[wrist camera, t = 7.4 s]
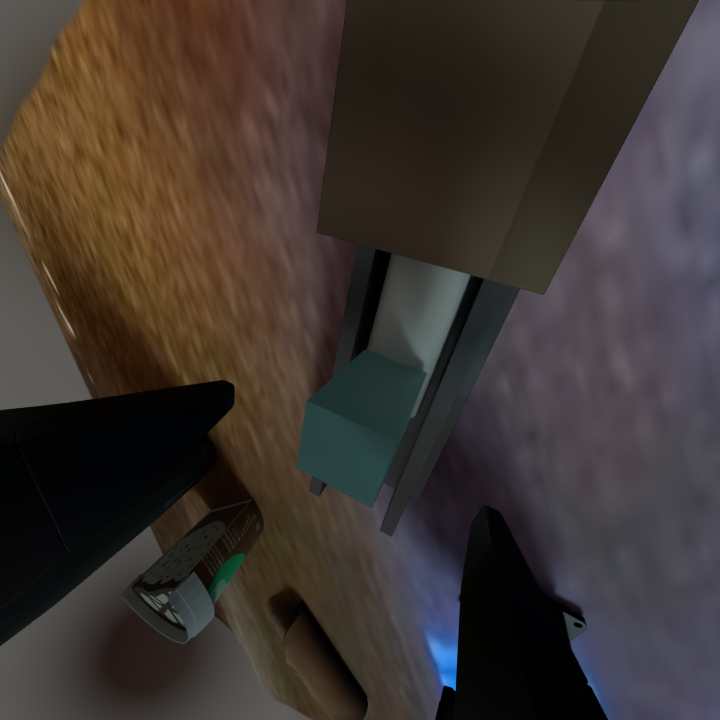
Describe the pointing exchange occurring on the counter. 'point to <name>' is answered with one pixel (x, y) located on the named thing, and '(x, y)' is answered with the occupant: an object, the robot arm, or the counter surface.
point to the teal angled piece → (382, 380)
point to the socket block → (486, 125)
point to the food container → (195, 571)
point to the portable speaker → (106, 540)
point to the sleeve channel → (449, 382)
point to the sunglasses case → (315, 662)
